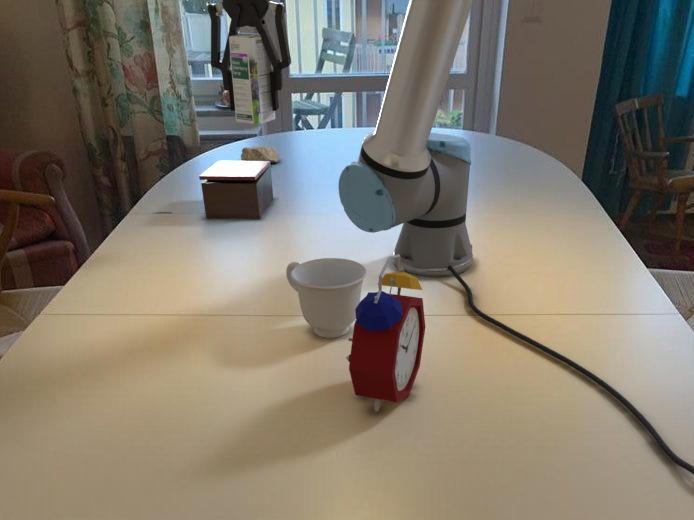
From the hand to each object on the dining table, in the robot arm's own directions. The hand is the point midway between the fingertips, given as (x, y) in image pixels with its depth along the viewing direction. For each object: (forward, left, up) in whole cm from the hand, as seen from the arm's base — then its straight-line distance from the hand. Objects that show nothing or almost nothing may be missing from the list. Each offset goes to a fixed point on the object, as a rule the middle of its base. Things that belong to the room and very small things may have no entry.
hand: (255, 109), depth 141 cm
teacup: (-41, -18, -25) cm, 52 cm away
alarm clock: (-61, -29, -25) cm, 72 cm away
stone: (+62, +15, -25) cm, 68 cm away
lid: (+20, +11, -17) cm, 29 cm away
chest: (+21, +11, -25) cm, 34 cm away
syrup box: (0, 0, -2) cm, 2 cm away
